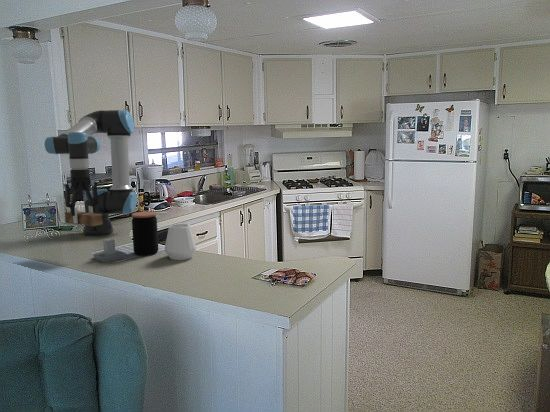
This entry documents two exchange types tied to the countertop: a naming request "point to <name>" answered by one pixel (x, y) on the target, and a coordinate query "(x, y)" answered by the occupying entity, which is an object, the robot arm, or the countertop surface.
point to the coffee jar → (145, 233)
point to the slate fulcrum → (109, 252)
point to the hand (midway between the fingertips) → (83, 221)
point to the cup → (180, 242)
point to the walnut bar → (85, 218)
